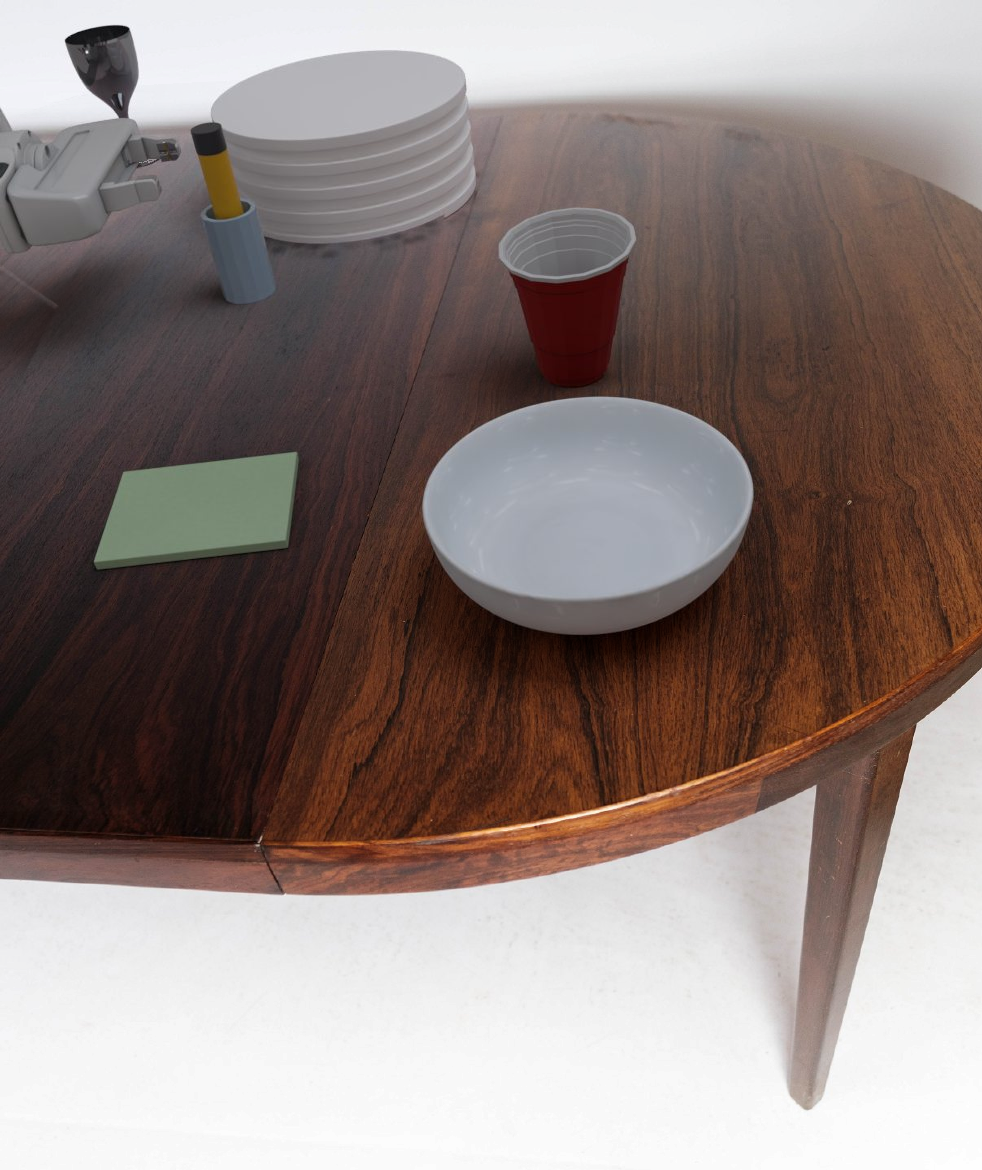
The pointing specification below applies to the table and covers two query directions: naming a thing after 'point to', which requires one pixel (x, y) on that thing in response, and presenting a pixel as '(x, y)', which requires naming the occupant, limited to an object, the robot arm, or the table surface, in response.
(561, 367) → the plastic cup
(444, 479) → the serving bowl
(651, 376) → the table surface
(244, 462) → the felt mat
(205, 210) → the pen pot
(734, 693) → the table surface
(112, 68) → the wine glass
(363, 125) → the plate stack
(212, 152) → the marker
